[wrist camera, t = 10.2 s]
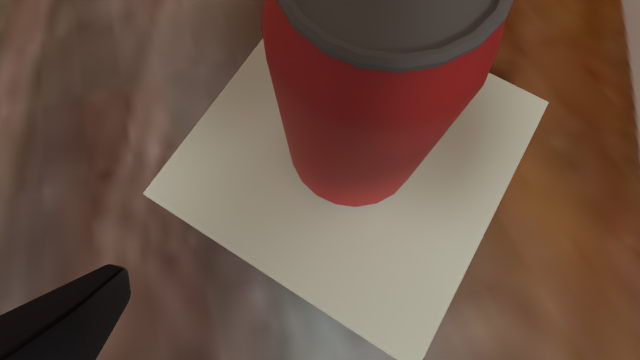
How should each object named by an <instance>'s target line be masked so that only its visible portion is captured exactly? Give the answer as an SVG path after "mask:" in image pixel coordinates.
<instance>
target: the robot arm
mask: <svg viewBox="0 0 640 360" xmlns="http://www.w3.org/2000/svg"><path fill="white" fill-rule="evenodd" d="M130 295H131V290H130V283H129V275H128V270H127V269H126V268H125V267H121V266H117V265H112V264H108V265H105V266H103V267H101V268H99V269H97V270H94V271H92V272H90V273H88V274H86V275H84V276H82V277H80V278H78V279H76V280H73V281H71V282H69V283H67V284H65V285H63V286H61V287H59V288H57V289H55V290H53V291H50V292H48V293H46V294H44V295H42V296H40V297H38V298H36V299H34V300H32V301H29V302H27V303H25V304H23V305H21V306H19V307H17V308H15V309H13V310H11V311H9V312H6V313H4V314H2V315H0V360H96V358H97V356H98V355H99V353H100V351H101V350H102V348H103V346H104V344H105V342H106V341H107V339H108V337H109V335H110V334H111V332H112V330H113V328H114V327H115V325H116V323H117V321H118V320H119V318H120V316H121V314H122V313H123V311H124V309H125V307H126V306H127V304H128V302H129V299H130Z"/></svg>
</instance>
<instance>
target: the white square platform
mask: <svg viewBox="0 0 640 360" xmlns="http://www.w3.org/2000/svg"><path fill="white" fill-rule="evenodd" d="M548 103H549V102H547V101H545V100H543V99H541V98H539V97H537V96H535V95H533V94H531V93H529V92H527V91H525V90H523V89H521V88H519V87H517V86H515V85H513V84H511V83H509V82H507V81H505V80H503V79H501V78H499V77H497V76H495V75H493V74H491V73H488V76H487V78H486V81H485V83H484V85H483V87H482V88H481V89H480V90H479V92H478V93H477V94H476V95H475V97H474V98H473V99H472V100H471V102H470V103H469V104H468V105H467V107H466V108H465V109H464V110H463V111H462V113H461V114H460V115H459V116H458V118H457V119H456V120H455V121H454V123H453V124H452V125H451V126H450V128H449V129H448V130H447V131H446V133H445V134H444V135H443V136H442V138H441V139H440V140H439V141H438V143H437V144H436V145H435V146H434V148H433V149H432V150H431V151H430V153H429V154H428V155H427V156H426V157H425V159H424V160H423V161H422V162H421V164H420V165H419V166H418V167H417V169H416V170H415V171H414V172H413V174H412V175H411V176H410V177H409V179H408V180H407V181H406V182H405V183H404V184H403V185H402V186H401V187H400V188H399V189H398V191H397V192H396V193H395V194H393V195H391V196H390V197H388V198H386V199H384V200H382V201H380V202H378V203H376V204H371V205H365V206H359V207H352V206H344V205H337V204H334V203H332V202H330V201H327V200H325V199H323V198H321V197H319V196H317V195H316V194H315V193H314V192H313V191H312V190H310V189H309V188H308V187H307V186H306V185H305V184H304V183H303V182H302V180H301V179H300V177H299V175H298V173H297V171H296V169H295V167H294V166H293V163H292V159H291V155H290V151H289V147H288V143H287V139H286V135H285V131H284V127H283V123H282V119H281V115H280V111H279V107H278V103H277V100H276V96H275V92H274V88H273V84H272V80H271V76H270V72H269V68H268V64H267V60H266V54H265V48H264V41H263V39H262V40H261V41H260V42H259V44H258V45H257V46H256V48H255V49H254V50H253V52H252V53H251V54H250V55H249V57H248V58H247V59H246V61H245V62H244V63H243V64H242V66H241V67H240V68H239V70H238V71H237V72H236V74H235V75H234V76H233V77H232V79H231V80H230V81H229V83H228V84H227V85H226V87H225V88H224V89H223V90H222V92H221V93H220V94H219V96H218V97H217V98H216V99H215V101H214V102H213V103H212V105H211V106H210V107H209V109H208V110H207V111H206V112H205V114H204V115H203V116H202V118H201V119H200V120H199V122H198V123H197V124H196V125H195V127H194V128H193V129H192V131H191V132H190V133H189V135H188V136H187V137H186V138H185V140H184V141H183V142H182V144H181V145H180V146H179V147H178V149H177V150H176V151H175V153H174V154H173V155H172V157H171V158H170V159H169V160H168V162H167V163H166V164H165V166H164V167H163V168H162V170H161V171H160V172H159V173H158V175H157V176H156V177H155V179H154V180H153V181H152V182H151V184H150V185H149V186H148V188H147V189H146V190H145V192H144V193H143V194H144V195H145V196H147V197H148V198H150V199H151V200H153V201H155V202H156V203H158V204H159V205H161V206H162V207H164V208H165V209H167V210H168V211H170V212H171V213H173V214H174V215H176V216H177V217H179V218H181V219H182V220H184V221H185V222H187V223H188V224H190V225H191V226H193V227H194V228H196V229H197V230H199V231H200V232H202V233H204V234H205V235H207V236H208V237H210V238H211V239H213V240H214V241H216V242H217V243H219V244H220V245H222V246H223V247H225V248H227V249H228V250H230V251H231V252H233V253H234V254H236V255H237V256H239V257H240V258H242V259H243V260H245V261H246V262H248V263H249V264H251V265H253V266H254V267H256V268H257V269H259V270H260V271H262V272H263V273H265V274H266V275H268V276H269V277H271V278H272V279H274V280H276V281H277V282H279V283H280V284H282V285H283V286H285V287H286V288H288V289H289V290H291V291H292V292H294V293H295V294H297V295H298V296H300V297H302V298H303V299H305V300H306V301H308V302H309V303H311V304H312V305H314V306H315V307H317V308H318V309H320V310H321V311H323V312H325V313H326V314H328V315H329V316H331V317H332V318H334V319H335V320H337V321H338V322H340V323H341V324H343V325H344V326H346V327H347V328H349V329H351V330H352V331H354V332H355V333H357V334H358V335H360V336H361V337H363V338H364V339H366V340H367V341H369V342H370V343H372V344H374V345H375V346H377V347H378V348H380V349H381V350H383V351H384V352H386V353H387V354H389V355H390V356H392V357H393V358H395V359H397V360H423V358H424V356H425V354H426V352H427V350H428V348H429V346H430V344H431V341H432V339H433V337H434V335H435V333H436V331H437V329H438V327H439V325H440V323H441V321H442V319H443V317H444V315H445V313H446V311H447V309H448V307H449V305H450V303H451V301H452V299H453V297H454V295H455V293H456V291H457V288H458V286H459V284H460V282H461V280H462V278H463V276H464V274H465V272H466V270H467V268H468V266H469V264H470V262H471V260H472V258H473V256H474V254H475V252H476V250H477V248H478V246H479V244H480V242H481V240H482V238H483V235H484V233H485V231H486V229H487V227H488V225H489V223H490V221H491V219H492V217H493V215H494V213H495V211H496V209H497V207H498V205H499V203H500V201H501V199H502V197H503V195H504V193H505V191H506V189H507V187H508V185H509V182H510V180H511V178H512V176H513V174H514V172H515V170H516V168H517V166H518V164H519V162H520V160H521V158H522V156H523V154H524V152H525V150H526V148H527V146H528V144H529V142H530V140H531V138H532V136H533V134H534V132H535V129H536V127H537V125H538V123H539V121H540V119H541V117H542V115H543V113H544V111H545V109H546V107H547V105H548Z"/></svg>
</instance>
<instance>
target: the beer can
mask: <svg viewBox="0 0 640 360" xmlns="http://www.w3.org/2000/svg"><path fill="white" fill-rule="evenodd" d="M512 3H513V0H265V2H264V6H263V13H262V27H261V28H262V35H263V41H264V48H265V54H266V60H267V64H268V68H269V72H270V76H271V80H272V84H273V88H274V92H275V96H276V100H277V103H278V107H279V111H280V115H281V119H282V123H283V127H284V131H285V135H286V139H287V143H288V147H289V151H290V155H291V159H292V163H293V166H294V167H295V169H296V171H297V173H298V175H299V177H300V179H301V180H302V182H303V183H304V184H305V185H306V186H307V187H308V188H309V189H310V190H312V191H313V192H314V193H315V194H316V195H317V196H319V197H321V198H323V199H325V200H327V201H330V202H332V203H334V204H337V205H344V206H352V207H359V206H365V205H371V204H376V203H378V202H380V201H382V200H384V199H386V198H388V197H390V196H391V195H393V194H395V193H396V192H397V191H398V189H399V188H400V187H401V186H402V185H403V184H404V183H405V182H406V181H407V180H408V179H409V177H410V176H411V175H412V174H413V172H414V171H415V170H416V169H417V167H418V166H419V165H420V164H421V162H422V161H423V160H424V159H425V157H426V156H427V155H428V154H429V153H430V151H431V150H432V149H433V148H434V146H435V145H436V144H437V143H438V141H439V140H440V139H441V138H442V136H443V135H444V134H445V133H446V131H447V130H448V129H449V128H450V126H451V125H452V124H453V123H454V121H455V120H456V119H457V118H458V116H459V115H460V114H461V113H462V111H463V110H464V109H465V108H466V107H467V105H468V104H469V103H470V102H471V100H472V99H473V98H474V97H475V95H476V94H477V93H478V92H479V90H480V89H481V88H482V87H483V85H484V83H485V81H486V78H487V76H488V73H489V71H490V69H491V66H492V64H493V61H494V59H495V57H496V54H497V51H498V49H499V46H500V43H501V40H502V38H503V33H504V25H505V19H506V17H507V15H508V12H509V10H510V7H511V5H512Z"/></svg>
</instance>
